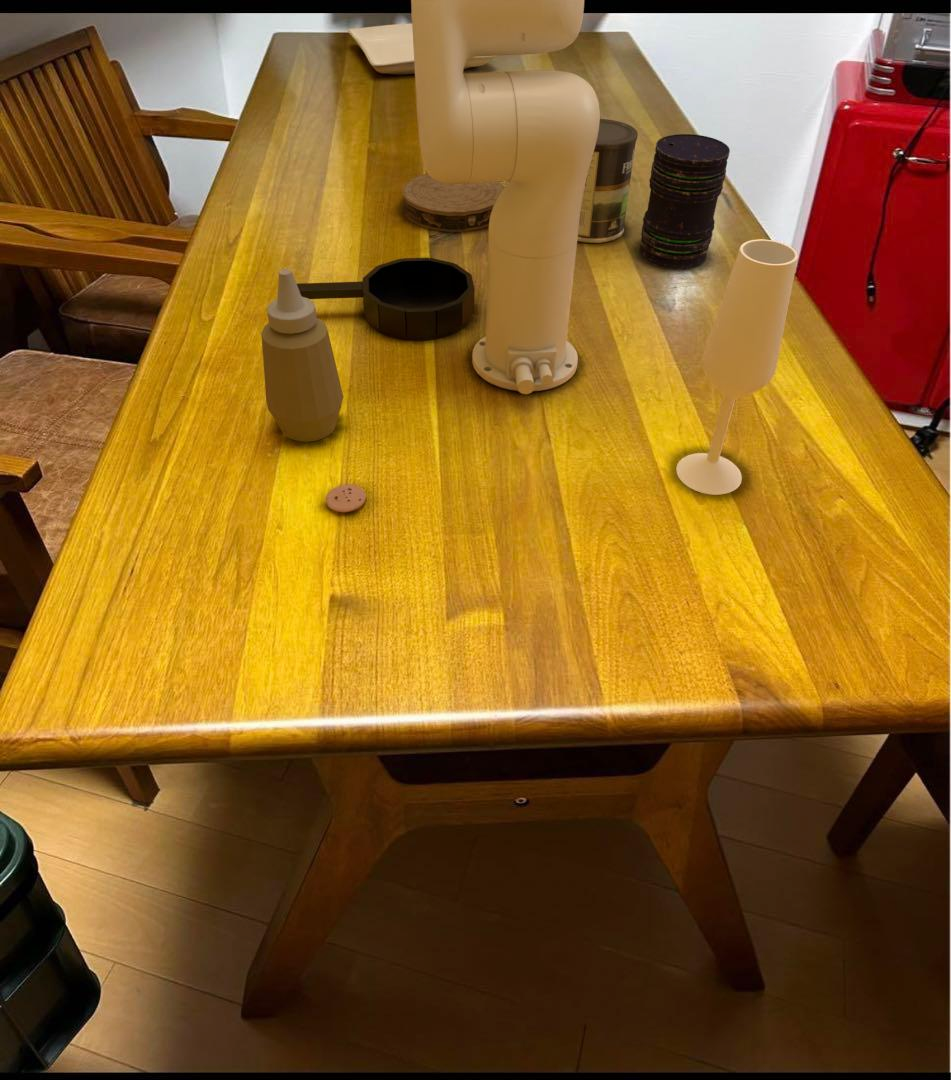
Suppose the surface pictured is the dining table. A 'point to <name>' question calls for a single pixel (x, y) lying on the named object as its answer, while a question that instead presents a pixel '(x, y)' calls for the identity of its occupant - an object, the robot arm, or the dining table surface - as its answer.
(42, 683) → the dining table surface
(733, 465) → the champagne flute
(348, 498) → the cookie
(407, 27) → the square plate
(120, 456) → the dining table surface
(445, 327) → the frying pan
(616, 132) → the coffee can
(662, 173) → the dark brown cylinder
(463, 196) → the brown flat disc
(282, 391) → the squeeze bottle
